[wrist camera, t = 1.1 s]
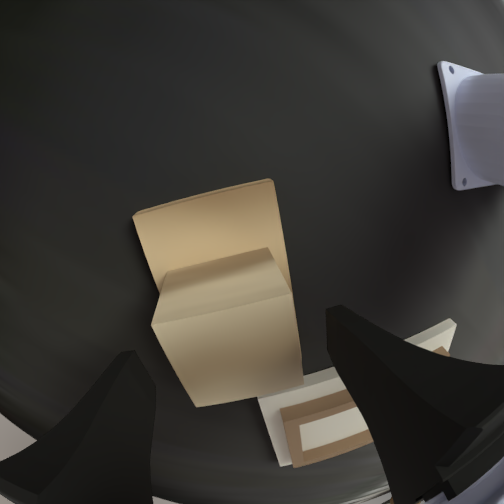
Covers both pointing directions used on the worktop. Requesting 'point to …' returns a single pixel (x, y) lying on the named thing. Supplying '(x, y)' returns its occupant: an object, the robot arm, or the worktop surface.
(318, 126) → the worktop surface
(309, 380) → the keyed base
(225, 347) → the flange block
